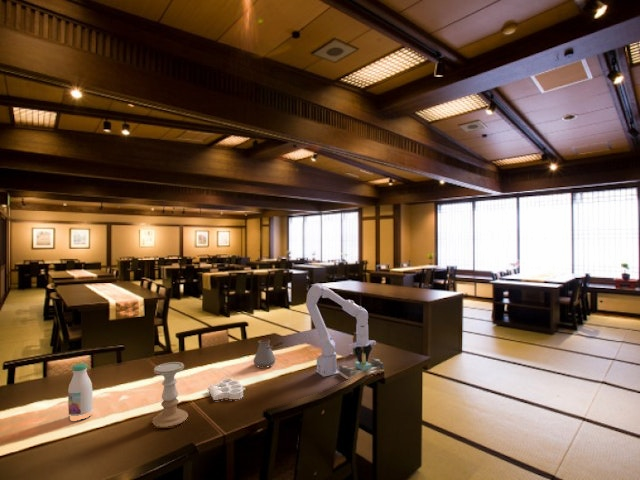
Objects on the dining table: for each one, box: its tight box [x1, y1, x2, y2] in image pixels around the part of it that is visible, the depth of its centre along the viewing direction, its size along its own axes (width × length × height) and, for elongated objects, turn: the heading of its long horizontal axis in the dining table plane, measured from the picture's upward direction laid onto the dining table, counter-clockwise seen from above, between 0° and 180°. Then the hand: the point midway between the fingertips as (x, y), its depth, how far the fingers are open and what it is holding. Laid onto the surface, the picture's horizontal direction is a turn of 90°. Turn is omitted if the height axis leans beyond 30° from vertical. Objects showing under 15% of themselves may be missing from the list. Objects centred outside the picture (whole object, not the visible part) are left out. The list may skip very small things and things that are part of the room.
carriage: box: [354, 353, 371, 370], centre depth 178 cm, size 5×7×7 cm
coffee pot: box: [253, 339, 287, 368], centre depth 188 cm, size 21×12×15 cm, turn 49°
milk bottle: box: [67, 362, 94, 416], centre depth 138 cm, size 8×8×20 cm
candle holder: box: [151, 361, 189, 427], centre depth 134 cm, size 12×12×20 cm
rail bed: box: [338, 357, 385, 380], centre depth 177 cm, size 21×9×5 cm, turn 117°
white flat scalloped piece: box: [207, 378, 247, 401], centre depth 158 cm, size 3×18×15 cm
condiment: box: [349, 331, 364, 356], centre depth 206 cm, size 7×8×12 cm
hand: (362, 361), depth 178 cm, fingers closed on carriage, 3 cm apart
